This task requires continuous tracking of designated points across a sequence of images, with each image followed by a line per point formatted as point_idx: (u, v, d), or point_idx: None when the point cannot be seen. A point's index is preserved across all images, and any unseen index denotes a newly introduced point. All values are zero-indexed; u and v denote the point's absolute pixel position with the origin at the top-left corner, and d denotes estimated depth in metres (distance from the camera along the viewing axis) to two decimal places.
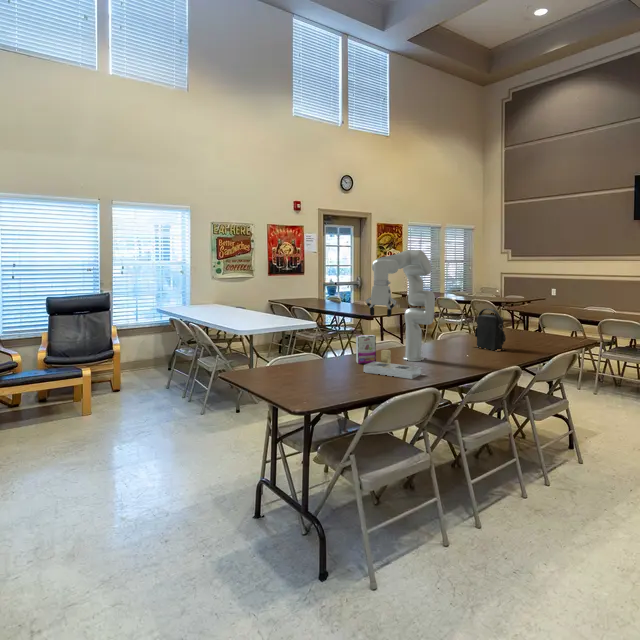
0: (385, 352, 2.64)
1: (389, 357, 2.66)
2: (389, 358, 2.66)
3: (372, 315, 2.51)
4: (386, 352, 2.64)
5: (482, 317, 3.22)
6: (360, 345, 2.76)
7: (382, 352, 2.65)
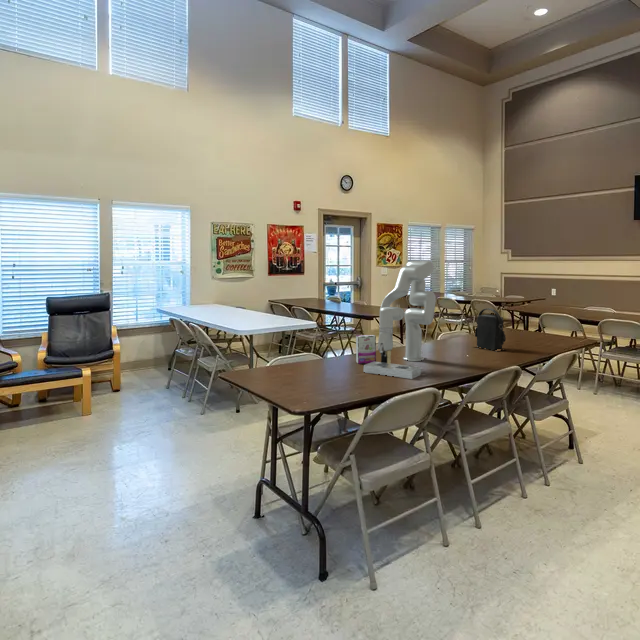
0: None
1: (389, 357, 2.66)
2: (389, 358, 2.66)
3: (385, 362, 2.65)
4: (386, 352, 2.64)
5: (482, 317, 3.22)
6: (360, 345, 2.76)
7: None
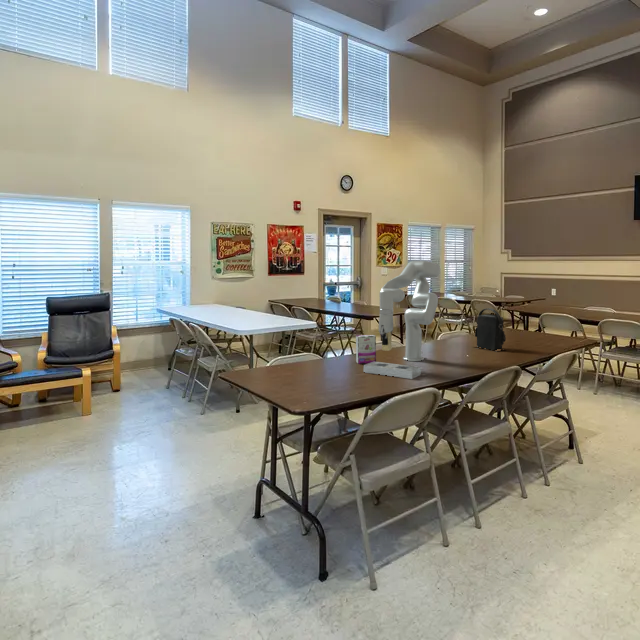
0: None
1: (390, 339, 2.65)
2: (390, 340, 2.65)
3: (386, 344, 2.64)
4: (387, 334, 2.63)
5: (482, 317, 3.22)
6: (360, 345, 2.76)
7: None
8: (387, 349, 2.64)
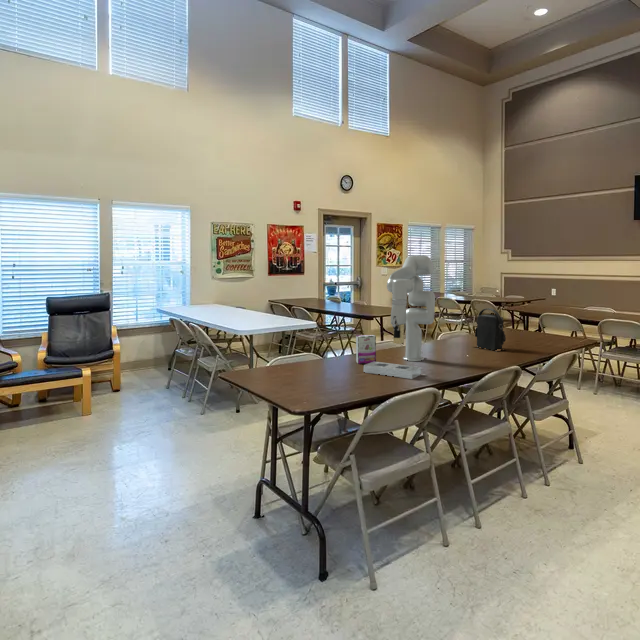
0: None
1: (402, 332, 2.50)
2: (403, 333, 2.50)
3: (398, 337, 2.49)
4: None
5: (482, 317, 3.22)
6: (360, 345, 2.76)
7: None
8: (399, 342, 2.49)
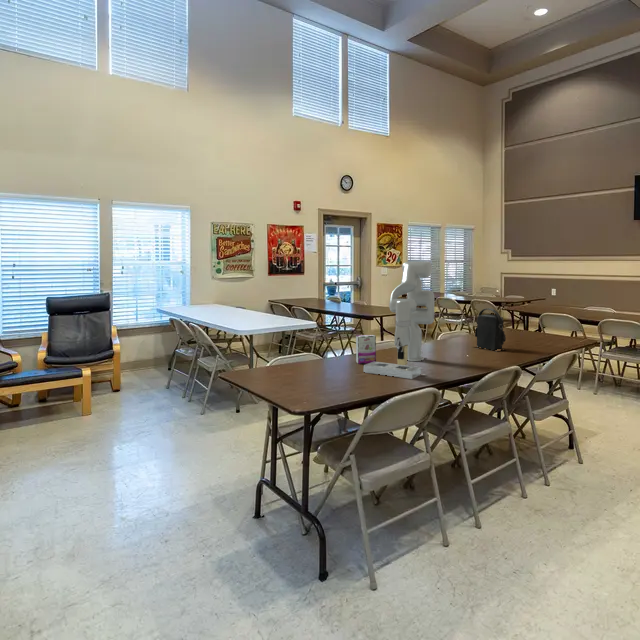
0: None
1: (406, 353, 2.48)
2: (406, 354, 2.48)
3: (402, 358, 2.47)
4: (403, 347, 2.46)
5: (482, 317, 3.22)
6: (360, 345, 2.76)
7: None
8: (403, 363, 2.47)
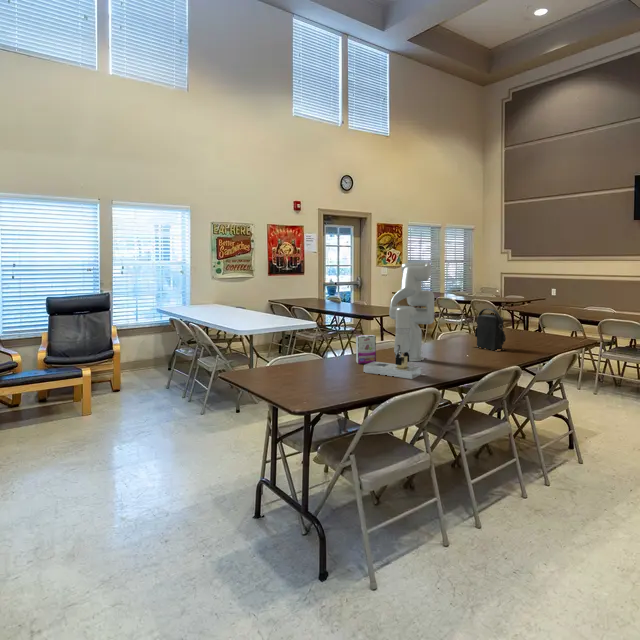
0: None
1: (406, 363, 2.48)
2: (406, 365, 2.49)
3: (399, 364, 2.45)
4: (402, 358, 2.46)
5: (482, 317, 3.22)
6: (360, 345, 2.76)
7: None
8: None
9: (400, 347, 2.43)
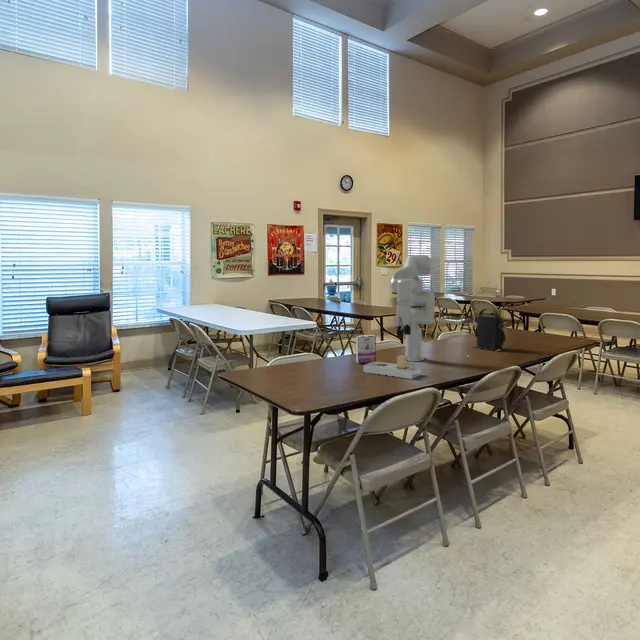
0: (401, 358, 2.47)
1: (406, 363, 2.48)
2: (406, 365, 2.49)
3: (401, 336, 2.44)
4: (402, 358, 2.46)
5: (482, 317, 3.22)
6: (360, 345, 2.76)
7: (398, 358, 2.48)
8: None
9: (401, 319, 2.42)
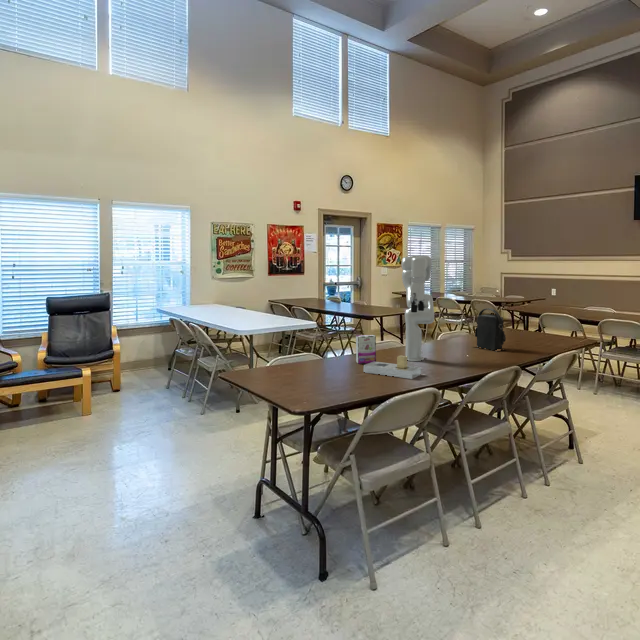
0: (401, 358, 2.47)
1: (406, 363, 2.48)
2: (406, 365, 2.49)
3: (415, 312, 2.55)
4: (402, 358, 2.46)
5: (482, 317, 3.22)
6: (360, 345, 2.76)
7: (398, 358, 2.48)
8: None
9: (416, 295, 2.53)
